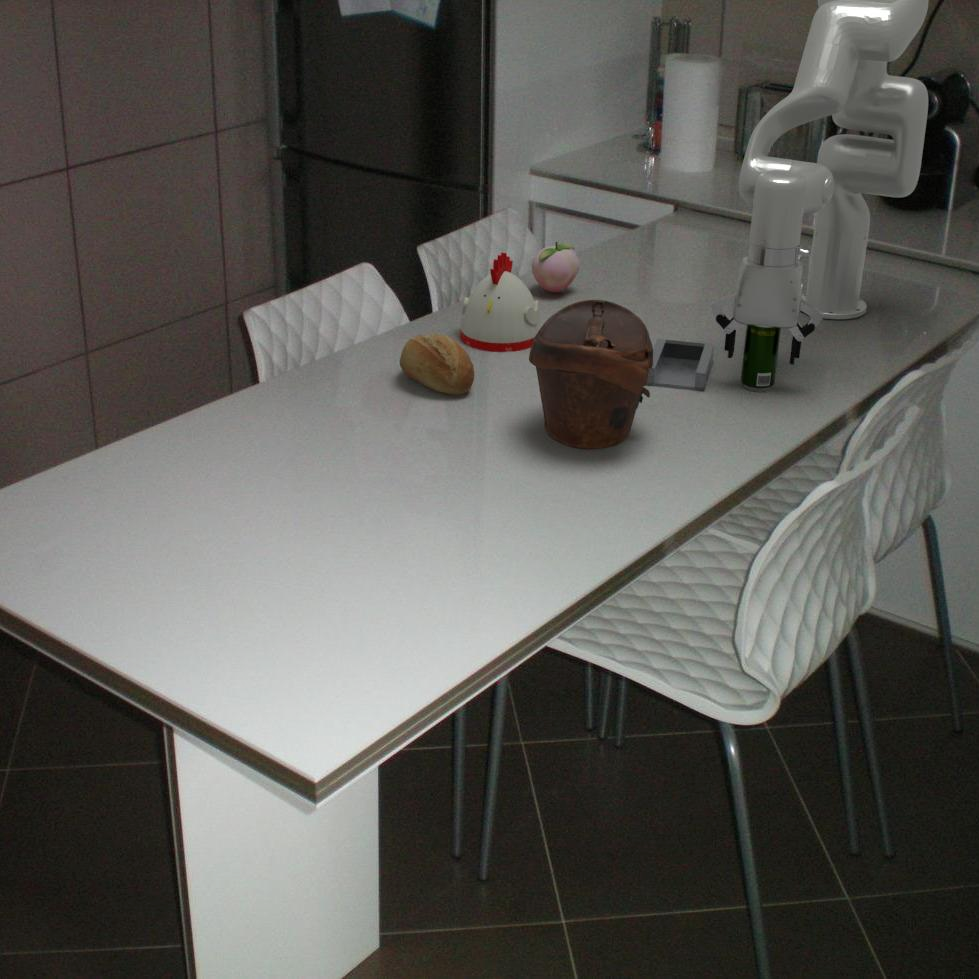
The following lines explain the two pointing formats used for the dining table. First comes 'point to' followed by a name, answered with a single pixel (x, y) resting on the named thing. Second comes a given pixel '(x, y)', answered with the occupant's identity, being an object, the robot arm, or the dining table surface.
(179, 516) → the dining table surface
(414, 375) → the bread roll
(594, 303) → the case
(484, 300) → the kitchen timer
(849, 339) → the dining table surface
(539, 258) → the decorative fruit
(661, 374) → the grey tray
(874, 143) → the robot arm
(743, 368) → the beer can
